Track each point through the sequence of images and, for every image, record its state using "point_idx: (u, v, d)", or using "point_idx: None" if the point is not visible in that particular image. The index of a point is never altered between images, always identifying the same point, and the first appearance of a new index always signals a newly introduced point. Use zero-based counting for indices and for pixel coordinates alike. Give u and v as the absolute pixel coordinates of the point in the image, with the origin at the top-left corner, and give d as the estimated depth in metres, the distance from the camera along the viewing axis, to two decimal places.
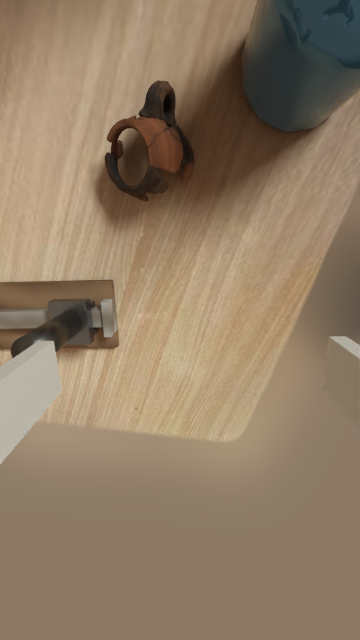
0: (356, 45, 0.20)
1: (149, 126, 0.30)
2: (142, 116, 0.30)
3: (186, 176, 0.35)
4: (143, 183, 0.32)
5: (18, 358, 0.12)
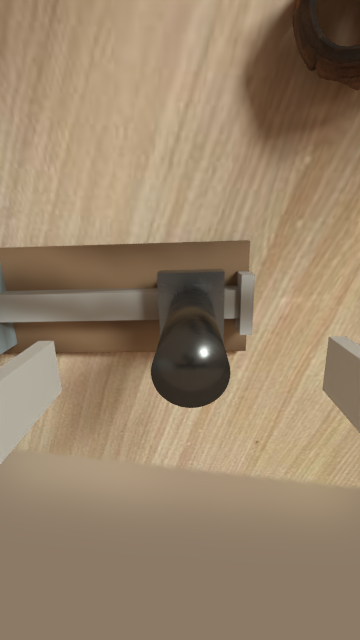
0: None
1: None
2: None
3: None
4: None
5: (18, 358, 0.12)
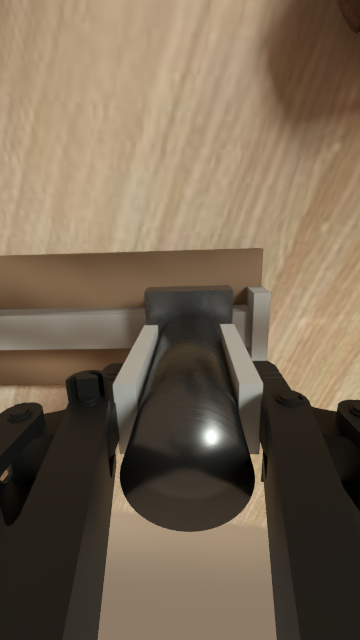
0: None
1: None
2: None
3: None
4: None
5: (142, 338, 0.14)
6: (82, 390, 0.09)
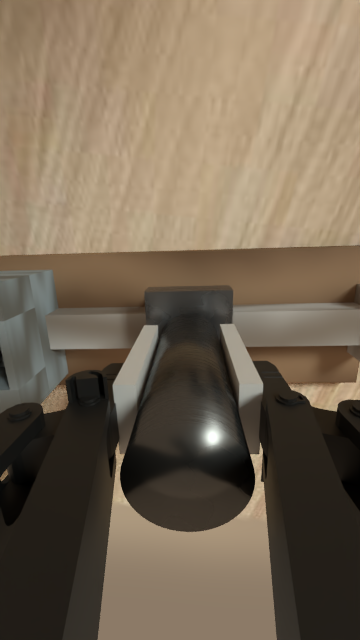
0: None
1: None
2: None
3: None
4: None
5: (142, 338, 0.14)
6: (82, 390, 0.09)
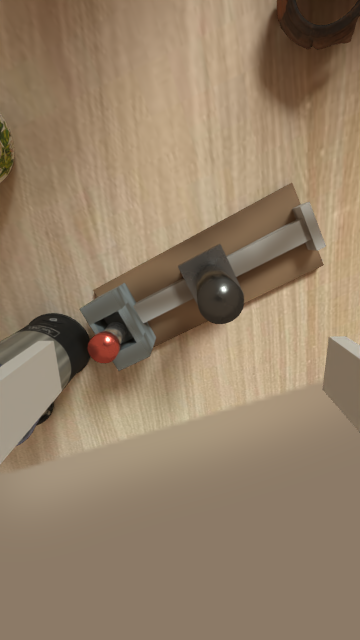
0: None
1: None
2: None
3: None
4: None
5: (18, 358, 0.12)
6: None
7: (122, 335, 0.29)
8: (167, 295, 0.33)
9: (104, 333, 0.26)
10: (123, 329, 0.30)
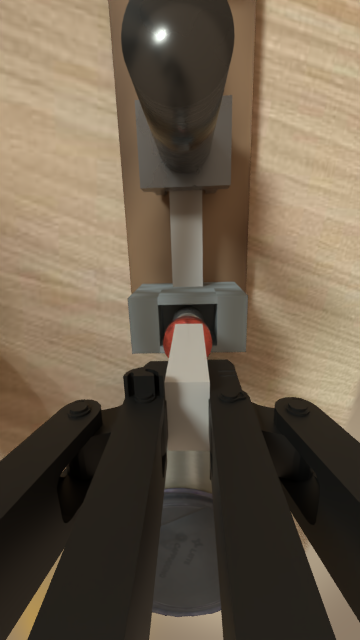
0: None
1: None
2: None
3: None
4: None
5: (178, 336, 0.14)
6: (138, 387, 0.09)
7: (192, 311, 0.19)
8: (180, 231, 0.22)
9: (167, 329, 0.16)
10: (187, 306, 0.20)
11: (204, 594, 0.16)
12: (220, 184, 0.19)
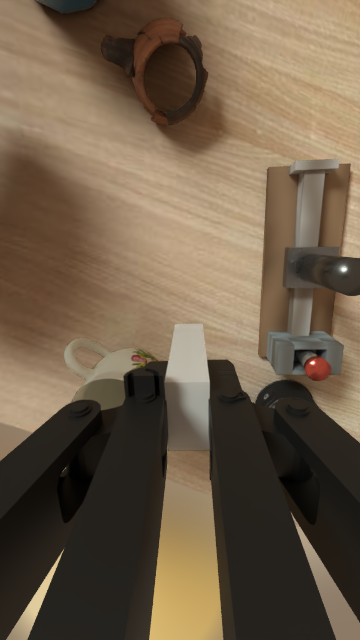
0: None
1: (141, 50, 0.30)
2: (133, 65, 0.31)
3: (181, 29, 0.32)
4: (195, 54, 0.29)
5: (178, 336, 0.14)
6: (138, 387, 0.09)
7: (311, 351, 0.36)
8: (299, 306, 0.39)
9: (307, 362, 0.34)
10: None
11: None
12: None
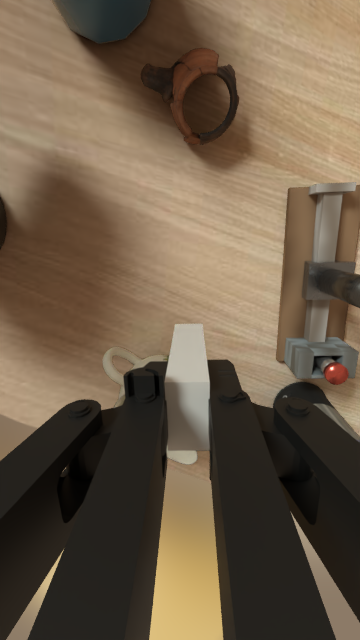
0: None
1: (181, 79, 0.32)
2: (172, 92, 0.33)
3: None
4: (231, 83, 0.32)
5: (178, 336, 0.14)
6: (138, 387, 0.09)
7: (329, 357, 0.40)
8: (316, 315, 0.42)
9: (327, 368, 0.37)
10: None
11: None
12: None
